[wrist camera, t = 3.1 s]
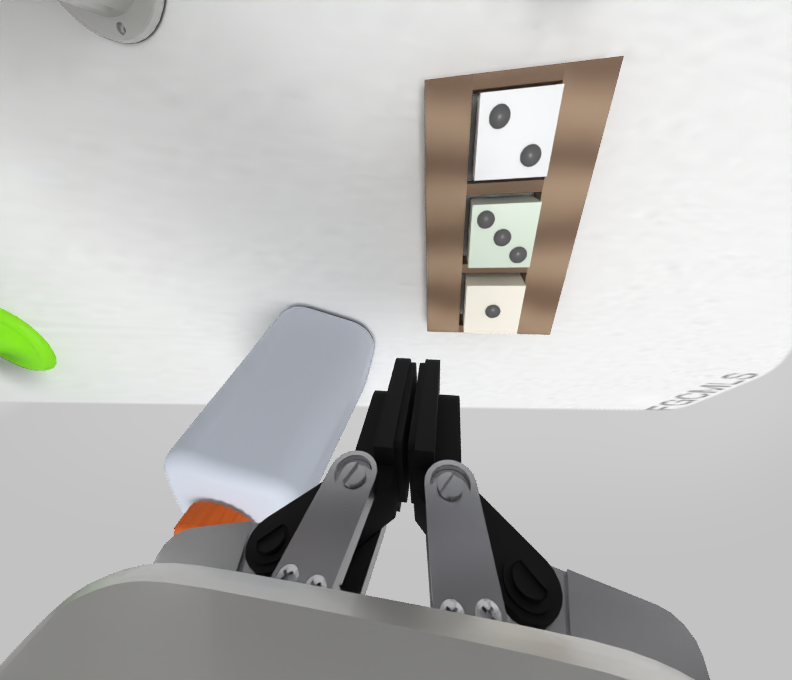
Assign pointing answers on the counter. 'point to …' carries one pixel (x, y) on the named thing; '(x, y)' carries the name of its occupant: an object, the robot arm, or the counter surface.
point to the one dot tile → (492, 302)
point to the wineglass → (24, 344)
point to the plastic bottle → (271, 421)
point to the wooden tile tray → (511, 183)
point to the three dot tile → (502, 231)
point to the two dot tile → (515, 132)
